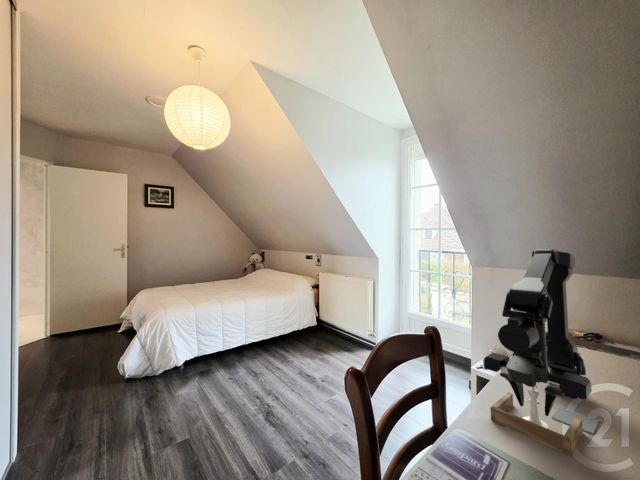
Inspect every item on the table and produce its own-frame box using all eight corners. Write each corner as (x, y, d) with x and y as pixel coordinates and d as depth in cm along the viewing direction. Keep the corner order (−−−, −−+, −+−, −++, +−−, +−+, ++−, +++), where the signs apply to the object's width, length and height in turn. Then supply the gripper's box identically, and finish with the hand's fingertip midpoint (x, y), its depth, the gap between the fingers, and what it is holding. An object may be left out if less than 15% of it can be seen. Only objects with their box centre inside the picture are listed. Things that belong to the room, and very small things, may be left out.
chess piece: (521, 416, 64) (519, 374, 64) (548, 425, 60) (546, 380, 61) (521, 427, 60) (518, 382, 60) (549, 436, 57) (547, 389, 57)
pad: (559, 407, 67) (559, 406, 67) (599, 422, 61) (599, 420, 61) (551, 418, 63) (551, 417, 63) (593, 434, 57) (593, 433, 57)
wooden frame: (508, 403, 69) (508, 392, 69) (582, 432, 58) (581, 418, 58) (491, 420, 63) (490, 407, 63) (570, 456, 51) (569, 440, 51)
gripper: (472, 338, 64) (475, 404, 63) (577, 364, 49) (583, 450, 48) (491, 330, 70) (494, 389, 70) (589, 350, 55) (594, 426, 55)
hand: (534, 410), depth 60 cm, fingers open, 4 cm apart
